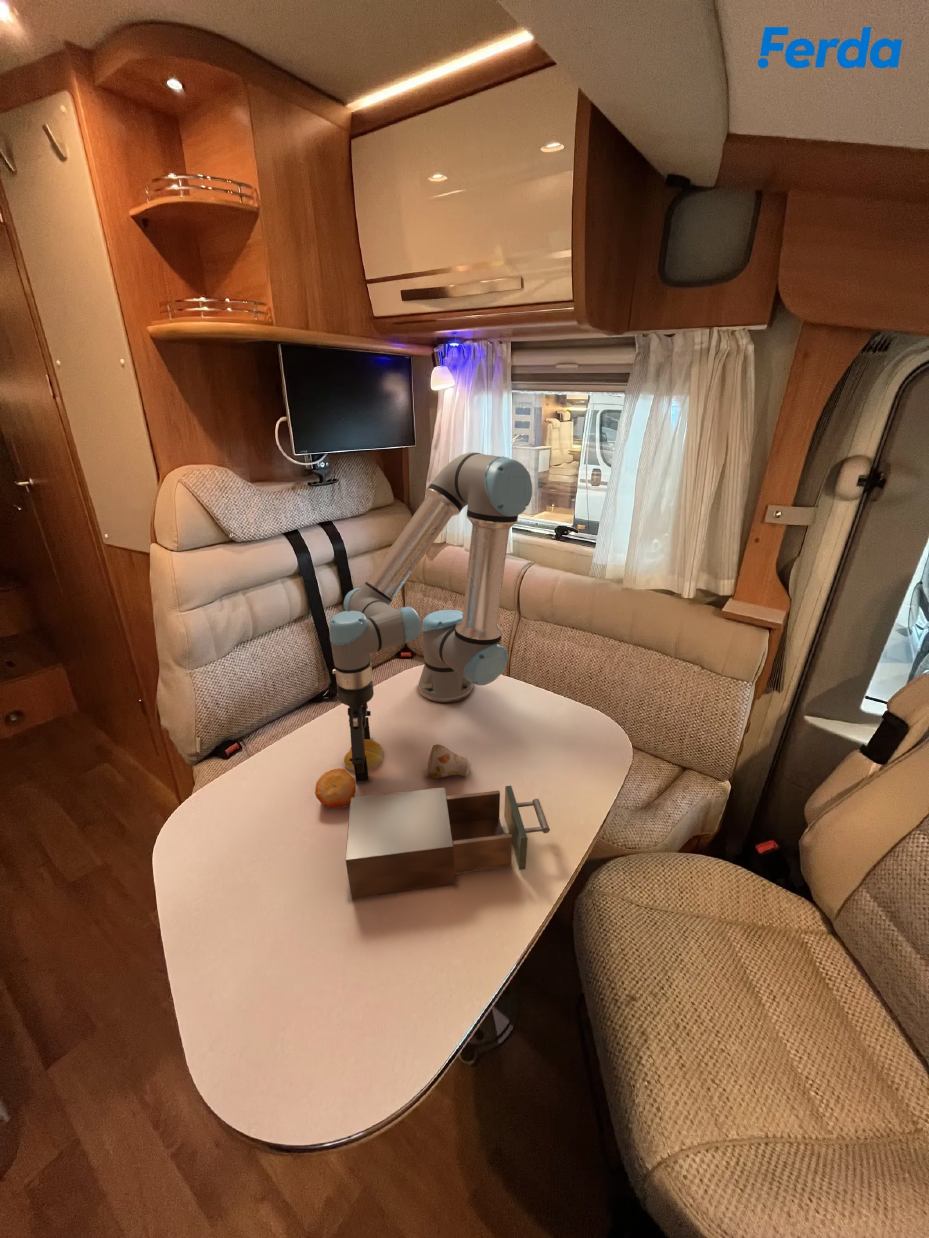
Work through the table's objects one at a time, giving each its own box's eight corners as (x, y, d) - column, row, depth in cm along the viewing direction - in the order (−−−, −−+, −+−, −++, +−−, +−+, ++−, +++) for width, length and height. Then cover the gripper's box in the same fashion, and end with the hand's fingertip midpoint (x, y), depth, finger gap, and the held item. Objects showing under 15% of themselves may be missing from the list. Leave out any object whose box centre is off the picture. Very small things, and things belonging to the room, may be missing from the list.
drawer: (533, 812, 100) (535, 782, 97) (552, 865, 89) (555, 834, 86) (427, 824, 98) (425, 794, 94) (432, 881, 86) (431, 850, 83)
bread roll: (339, 770, 113) (337, 757, 111) (356, 745, 120) (355, 732, 119) (373, 777, 111) (371, 763, 109) (388, 750, 118) (387, 737, 117)
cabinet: (446, 823, 99) (444, 786, 95) (454, 885, 87) (453, 846, 83) (356, 834, 97) (350, 797, 93) (351, 899, 85) (345, 860, 80)
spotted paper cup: (475, 784, 109) (452, 759, 103) (437, 793, 112) (413, 770, 107) (477, 755, 114) (455, 730, 109) (440, 764, 118) (418, 741, 112)
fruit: (357, 773, 110) (353, 762, 103) (358, 810, 105) (354, 801, 99) (319, 778, 108) (313, 767, 102) (319, 816, 104) (312, 806, 98)
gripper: (341, 654, 117) (350, 727, 126) (330, 718, 95) (343, 801, 104) (373, 652, 118) (380, 724, 127) (370, 715, 96) (379, 797, 105)
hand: (363, 759), depth 116 cm, fingers open, 13 cm apart
